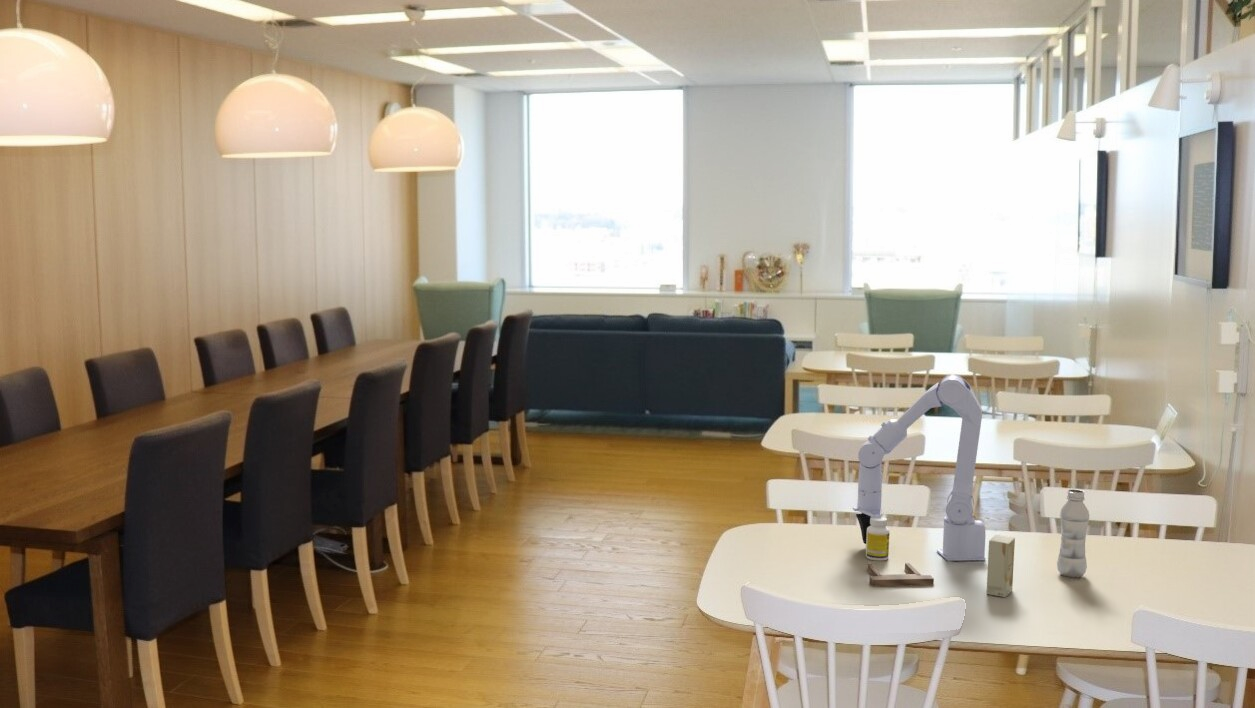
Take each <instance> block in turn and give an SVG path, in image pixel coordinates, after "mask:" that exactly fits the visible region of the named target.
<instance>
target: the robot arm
mask: <svg viewBox="0 0 1255 708" xmlns="http://www.w3.org/2000/svg"><path fill="white" fill-rule="evenodd" d="M943 404H944V405H946V406H947V407H949V408H951V409H953V410H954V411H955V412H956V413H957V415H958V416H959V417H960V418H961V425H960V433H959V442H958V449H957V456H956V463H955V470H954V471H955V472H954V478H953V484H952V490H951V492H950V493H949V495H948V496H947V499H946V502H947V504H946V506H945V513H946V515H945V516H944V517H943V534H942V536H943V539H942V540H943V541H942V548H941V549H939V548H938V549H936V553H938V554H940V555H941V557H943V558H944V559H945V560H946V561H947V562H948V561H951V562H952V561H953V562H957V561H961V562H962V561H986V557H985V555H986V553H985V551H986V527H985V524H984V522H983V521H982V520H979V519H977V520H976V519H975V517H974V505H975V499H974V497H973V494H972V492H973V485H974V484H973V483H974V477H975V471H976V463H977V456H978V449H979V448H978V447H979V443H980V442H979V439H980V434H981V426H982V419H983V409H982V407H981V404H980V403H979V401H978V399H977V397H976V394H975V393H974V391H973V389H972V387H971V384H970V383H969V382H967V380H965V379H964V377H962V376H960V375H959V374H956V373H954V374H953V373H951V374H950V373H949V374H947V375H945V376H944V377H943V378H942V379H941V380H940V382H939V381H938V382H937V383H935V384H933V385H932V386H931V387H930V388H928V389H927V390H926V391H925V392H924V393H922V395H921V396H919V398H918V399H917V400H916V401H915V402H913V403H912V405H911V406H909V408H908V409H907V410H906V411H905V412H904V413H903V414H902V415H901V416H900V417H899V418H897V419H889V420H888V421H886V420H884V421H883V422H882V423H881V427H880V429H878V430H877V431H876V432H875V433H874V434H873V435H869V436H868V437H867V441H865V442H863V444H862V445H861V447H860V448H859V451H858V454H857V456H858V457H857V458H858V461H859V464H858V465H859V466H858V468H859V470H858V476H857V477H858V478H857V479H858V481H857V503H856V504H857V505H856V506H852V510H853V511H854V512H859V513H856V514H855V517H856V518H857V521H858V524H859V527H860V532H861V538H862V542H863V543H864V545H866V536H867V528H868V527H869V526H871V524H870V518H871V517H873V518H882V517H883V516H882V511H883V508H882V496H883V495H882V494H883V493H882V491H883V490H882V489H883V472H882V464H883V463H882V462H883V459H884V456H885V455H888V454H890V453H891V452H892V451H893V450H894V449H896V448H897V446H898V445H899V444H900V443H902V442H903V441H904V440H905V439H906V438H907V436H908V428H910V427H911V426H912V425H913V424H914V423H915V422H916V421H917V420H919V419H920V418H921V417H922V416H923V415H924V414H925V413H926V412H928V411H929V410H930V409H932V408H940V407H943Z"/></svg>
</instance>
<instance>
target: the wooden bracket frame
mask: <svg viewBox="0 0 1255 708" xmlns="http://www.w3.org/2000/svg"><path fill="white" fill-rule="evenodd" d="M866 566H867V567H866V571H867V572H868V573H869V574H870V575H871V576H869V582H868V583H869V584H870V585H871V587H898V586H899V587H902V586H906V587H908V585H909V587H911V586H910V585H912V586H934V580H935V579H934V577H933V576H932V575H931V574H926V575H925V574H921V573H920V572H919V570H917V569H916V568H915V567H914V566H913V565H912V564H911V563H910V562H905V563H904V570H905V571H906V572H907V573H902V574H901V573H897V574H881V572H880V571H878V569H877V568H876V567H875V566H874V565H873V563H867V565H866Z"/></svg>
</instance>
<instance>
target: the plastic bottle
mask: <svg viewBox="0 0 1255 708" xmlns="http://www.w3.org/2000/svg"><path fill="white" fill-rule="evenodd" d="M1066 499H1067V501H1066V502H1065V504H1063V505H1062V507H1061V509H1060V511H1059V518H1060V527H1061V529H1060V530H1061V531H1060V535H1061V536H1060V540H1061V541H1060V547H1059V553H1058V557H1057V561H1056V567H1057V571H1058V572H1059V574H1060V575H1062V576H1065V577H1070V578H1081V577H1083V576H1084V575H1085V574H1086V571H1087V569H1088V566H1087V557H1086V538H1087V532H1088V531H1087V530H1088V526H1089V522H1090V512H1089V510H1088V508H1087V507H1088V506H1086V505H1085V503H1084V501H1085V500H1086V499H1085V491H1084V490H1081V489H1068V490H1067V495H1066Z"/></svg>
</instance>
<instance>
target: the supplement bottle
mask: <svg viewBox="0 0 1255 708" xmlns="http://www.w3.org/2000/svg"><path fill="white" fill-rule="evenodd" d="M870 524H871V526H869V527H868V528H867V536H866V544H865V557H866V559H868V560H871V561H875V562H876V561H878V562H879V561H881V562H882V561H886V560H888V559H889V556H890V555H889V554H890V553H889V552H890V551H889V549H890V529H889V528H888V527H887V525H888V519H887V518H886V517H884V516H882V518H873V517H871V518H870Z"/></svg>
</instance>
